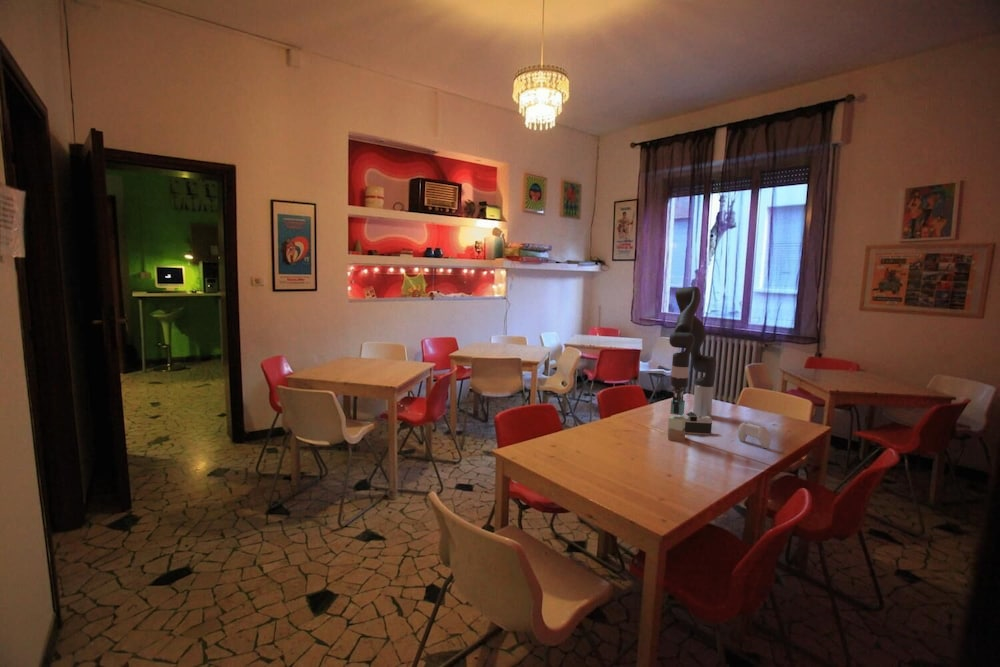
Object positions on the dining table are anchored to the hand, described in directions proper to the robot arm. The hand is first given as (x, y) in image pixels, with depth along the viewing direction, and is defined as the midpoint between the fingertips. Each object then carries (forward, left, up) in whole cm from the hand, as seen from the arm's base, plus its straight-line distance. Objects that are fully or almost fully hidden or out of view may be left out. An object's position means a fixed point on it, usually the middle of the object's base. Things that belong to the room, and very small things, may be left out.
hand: (677, 412), depth 217 cm
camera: (-16, +5, -13) cm, 21 cm away
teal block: (0, 0, -1) cm, 1 cm away
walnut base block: (0, 0, -13) cm, 13 cm away
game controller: (-10, +31, -13) cm, 35 cm away
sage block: (0, 0, -8) cm, 8 cm away
